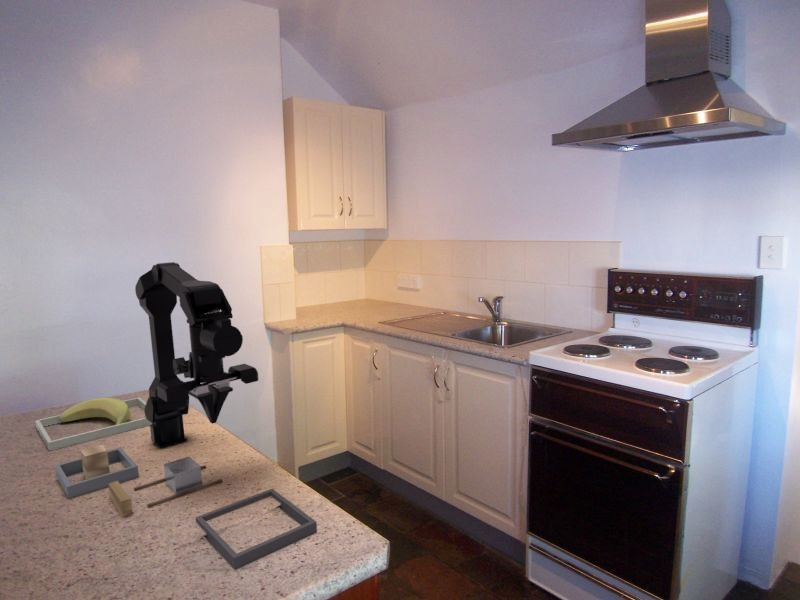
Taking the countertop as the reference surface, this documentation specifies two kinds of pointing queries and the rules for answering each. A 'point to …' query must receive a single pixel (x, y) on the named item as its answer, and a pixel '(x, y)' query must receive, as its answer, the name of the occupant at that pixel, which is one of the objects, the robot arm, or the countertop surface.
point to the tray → (99, 481)
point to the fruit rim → (91, 434)
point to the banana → (98, 410)
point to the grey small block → (183, 474)
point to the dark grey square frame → (265, 547)
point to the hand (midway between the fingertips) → (213, 422)
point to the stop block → (95, 461)
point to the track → (122, 497)
